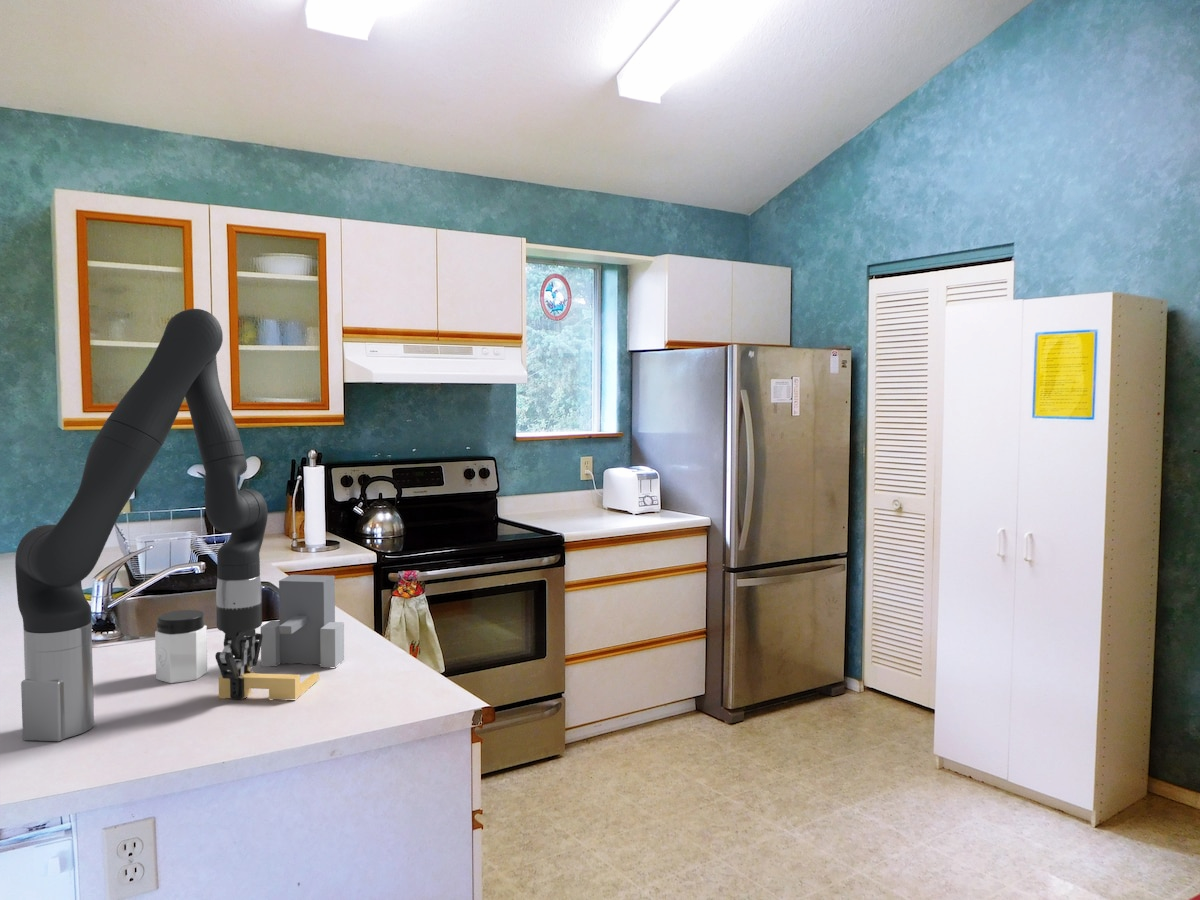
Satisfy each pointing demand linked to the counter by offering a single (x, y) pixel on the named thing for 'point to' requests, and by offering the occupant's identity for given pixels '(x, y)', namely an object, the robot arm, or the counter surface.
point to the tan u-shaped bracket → (270, 685)
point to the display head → (304, 624)
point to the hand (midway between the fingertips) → (240, 695)
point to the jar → (181, 646)
